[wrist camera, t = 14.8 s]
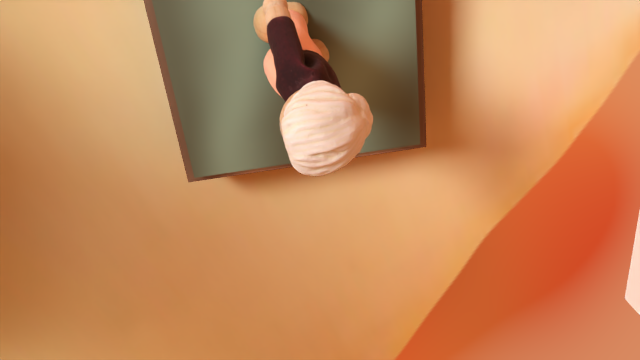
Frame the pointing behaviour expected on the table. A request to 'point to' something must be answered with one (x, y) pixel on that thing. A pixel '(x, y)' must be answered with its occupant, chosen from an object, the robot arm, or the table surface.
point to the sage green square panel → (257, 93)
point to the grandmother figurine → (309, 93)
